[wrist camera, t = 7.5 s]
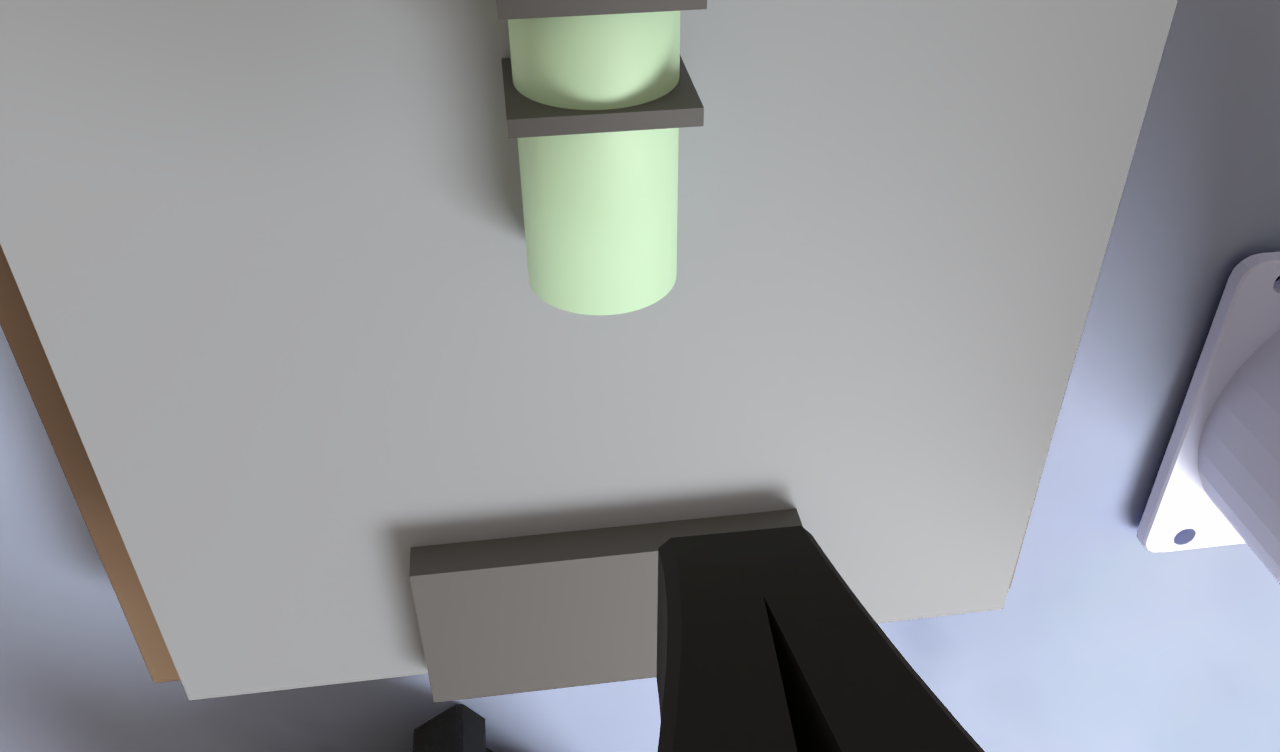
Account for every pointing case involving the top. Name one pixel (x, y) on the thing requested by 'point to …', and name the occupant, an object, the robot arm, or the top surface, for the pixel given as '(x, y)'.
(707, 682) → the robot arm
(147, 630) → the wooden pallet
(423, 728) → the scope
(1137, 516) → the top surface
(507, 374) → the level plate
